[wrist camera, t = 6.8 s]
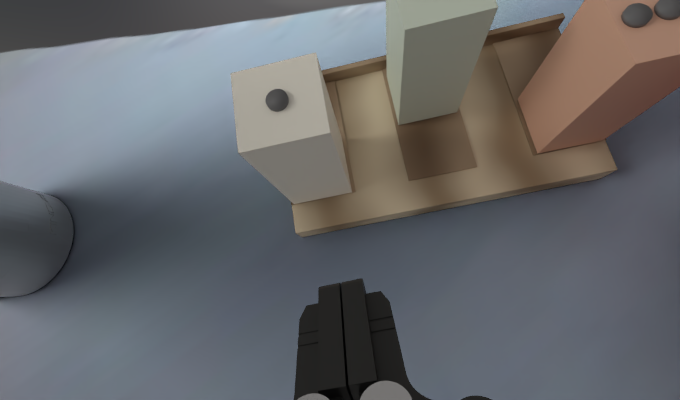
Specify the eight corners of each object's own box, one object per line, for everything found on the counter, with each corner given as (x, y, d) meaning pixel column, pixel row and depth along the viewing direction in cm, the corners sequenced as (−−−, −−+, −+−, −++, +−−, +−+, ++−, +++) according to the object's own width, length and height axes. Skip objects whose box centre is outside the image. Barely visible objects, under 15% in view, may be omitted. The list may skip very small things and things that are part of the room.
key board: (544, 42, 29) (563, 13, 26) (600, 178, 25) (629, 163, 22) (283, 103, 31) (271, 82, 28) (302, 237, 27) (291, 230, 24)
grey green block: (457, 112, 26) (499, 3, 16) (398, 125, 26) (405, 26, 16) (442, 63, 27) (473, -67, 17) (386, 76, 27) (385, -44, 18)
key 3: (603, 140, 24) (754, 34, 14) (537, 153, 24) (639, 60, 14) (579, 85, 25) (703, -47, 15) (517, 99, 25) (599, -21, 16)
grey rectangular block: (352, 192, 25) (329, 130, 15) (293, 204, 26) (235, 151, 16) (341, 138, 27) (314, 49, 17) (286, 150, 27) (228, 70, 17)
